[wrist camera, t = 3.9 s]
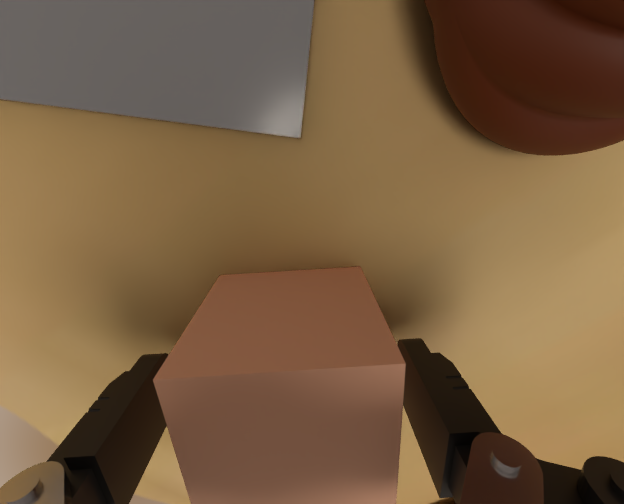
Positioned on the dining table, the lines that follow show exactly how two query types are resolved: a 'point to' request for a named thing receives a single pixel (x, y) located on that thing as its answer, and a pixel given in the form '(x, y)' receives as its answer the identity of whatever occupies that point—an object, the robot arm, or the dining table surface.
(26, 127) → the dining table surface
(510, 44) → the poop emoji
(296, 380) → the cube
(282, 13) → the metal plate
